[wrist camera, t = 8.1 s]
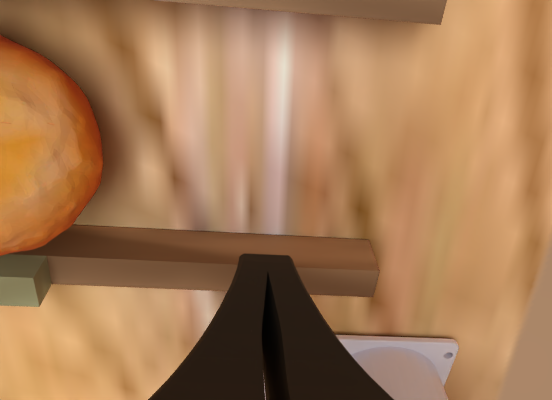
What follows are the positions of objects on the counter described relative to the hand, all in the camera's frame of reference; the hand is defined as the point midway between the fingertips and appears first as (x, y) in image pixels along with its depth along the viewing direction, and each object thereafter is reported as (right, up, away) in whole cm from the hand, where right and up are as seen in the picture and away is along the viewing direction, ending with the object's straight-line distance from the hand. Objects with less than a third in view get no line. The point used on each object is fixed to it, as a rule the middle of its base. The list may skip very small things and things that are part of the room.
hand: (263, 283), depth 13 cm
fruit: (-10, +6, +8) cm, 14 cm away
